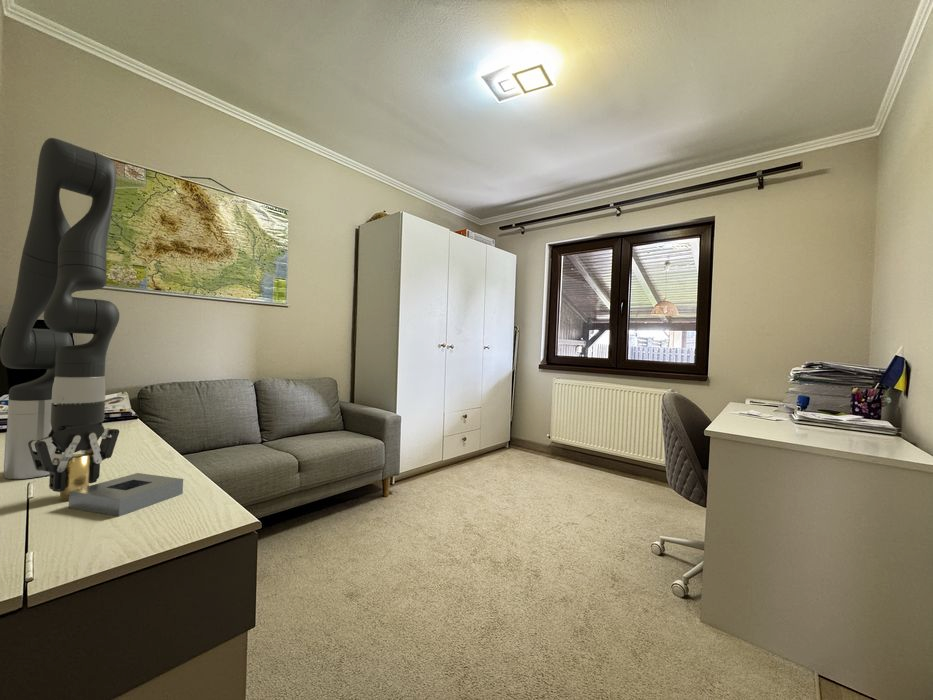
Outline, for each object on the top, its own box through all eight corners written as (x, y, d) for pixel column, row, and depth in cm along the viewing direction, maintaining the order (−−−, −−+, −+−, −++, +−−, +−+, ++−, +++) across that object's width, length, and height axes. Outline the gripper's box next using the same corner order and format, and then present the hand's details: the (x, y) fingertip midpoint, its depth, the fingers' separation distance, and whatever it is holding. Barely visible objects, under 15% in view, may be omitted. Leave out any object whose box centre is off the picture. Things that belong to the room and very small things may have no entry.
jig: (68, 507, 72) (69, 491, 72) (137, 487, 84) (137, 472, 84) (119, 516, 69) (119, 499, 69) (182, 493, 81) (183, 478, 81)
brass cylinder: (54, 499, 75) (55, 457, 76) (78, 492, 79) (80, 453, 80) (69, 501, 75) (71, 459, 75) (93, 494, 78) (95, 454, 79)
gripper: (105, 395, 85) (101, 474, 85) (16, 402, 71) (11, 497, 71) (132, 397, 83) (128, 478, 83) (47, 404, 69) (42, 502, 69)
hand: (74, 486), depth 77 cm, fingers open, 4 cm apart
